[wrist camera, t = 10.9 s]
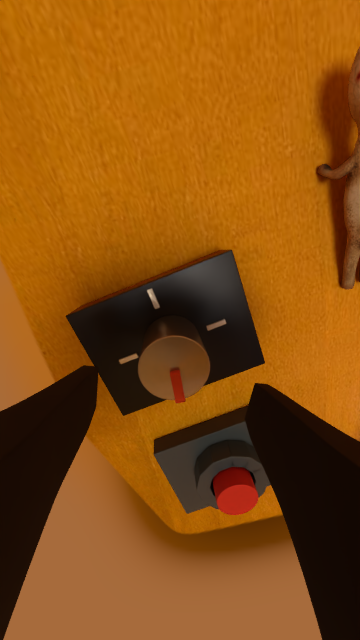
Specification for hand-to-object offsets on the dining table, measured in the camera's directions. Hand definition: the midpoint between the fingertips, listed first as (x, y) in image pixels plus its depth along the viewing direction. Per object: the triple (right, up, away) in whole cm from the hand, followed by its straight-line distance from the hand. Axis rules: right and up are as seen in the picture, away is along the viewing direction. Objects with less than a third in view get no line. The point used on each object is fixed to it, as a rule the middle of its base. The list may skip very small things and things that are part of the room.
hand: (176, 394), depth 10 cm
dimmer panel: (-1, +3, +9) cm, 9 cm away
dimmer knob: (0, +2, +6) cm, 6 cm away
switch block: (+5, -11, +13) cm, 18 cm away
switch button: (+5, -11, +10) cm, 16 cm away
